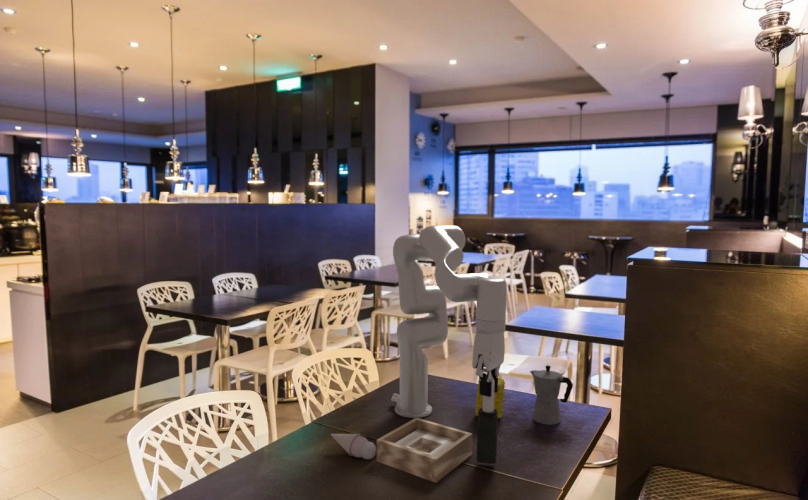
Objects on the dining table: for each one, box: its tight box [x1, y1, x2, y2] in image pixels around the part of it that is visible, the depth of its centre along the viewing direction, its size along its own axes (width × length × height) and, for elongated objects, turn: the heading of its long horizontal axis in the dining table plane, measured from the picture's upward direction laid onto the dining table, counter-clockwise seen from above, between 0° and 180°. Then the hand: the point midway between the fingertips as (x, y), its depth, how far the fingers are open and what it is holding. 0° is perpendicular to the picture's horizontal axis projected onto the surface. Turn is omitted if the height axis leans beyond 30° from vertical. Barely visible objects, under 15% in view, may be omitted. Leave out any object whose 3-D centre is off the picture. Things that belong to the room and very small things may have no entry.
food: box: [474, 377, 506, 419], centre depth 174 cm, size 14×11×9 cm
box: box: [376, 417, 473, 483], centre depth 145 cm, size 19×19×6 cm
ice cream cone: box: [330, 433, 377, 460], centre depth 147 cm, size 6×6×15 cm
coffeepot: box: [529, 364, 574, 426], centre depth 171 cm, size 15×9×18 cm, turn 43°
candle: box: [476, 374, 499, 465], centre depth 140 cm, size 5×5×25 cm
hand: (488, 392), depth 139 cm, fingers closed on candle, 3 cm apart
